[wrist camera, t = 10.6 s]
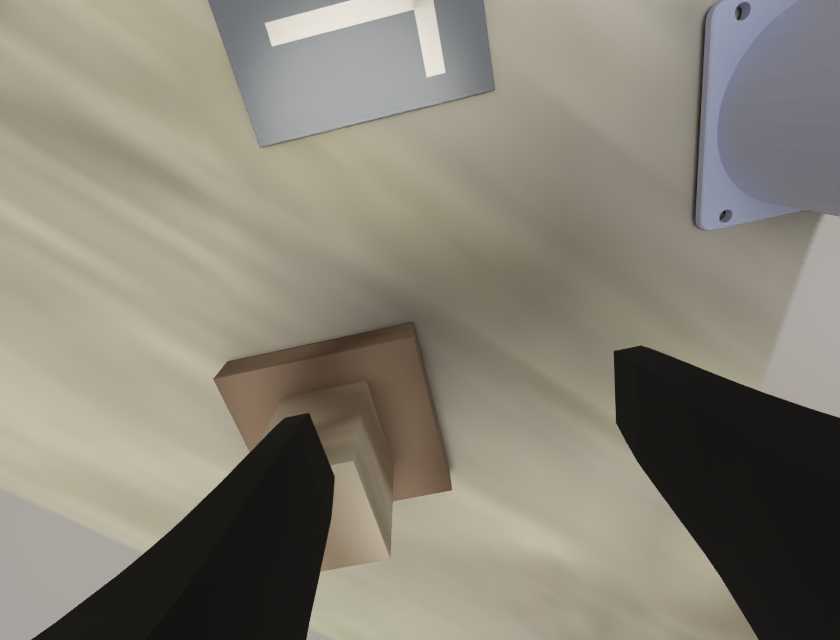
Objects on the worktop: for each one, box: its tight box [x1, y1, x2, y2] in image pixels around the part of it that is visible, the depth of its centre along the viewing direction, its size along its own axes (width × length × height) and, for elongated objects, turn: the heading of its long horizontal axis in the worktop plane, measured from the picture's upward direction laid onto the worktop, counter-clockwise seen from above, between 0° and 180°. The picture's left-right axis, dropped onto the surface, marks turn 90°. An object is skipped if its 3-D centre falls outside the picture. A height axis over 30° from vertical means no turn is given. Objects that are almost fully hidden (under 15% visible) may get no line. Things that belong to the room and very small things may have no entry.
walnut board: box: [214, 323, 452, 501], centre depth 20 cm, size 9×9×2 cm
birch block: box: [261, 381, 394, 571], centre depth 17 cm, size 4×5×5 cm
